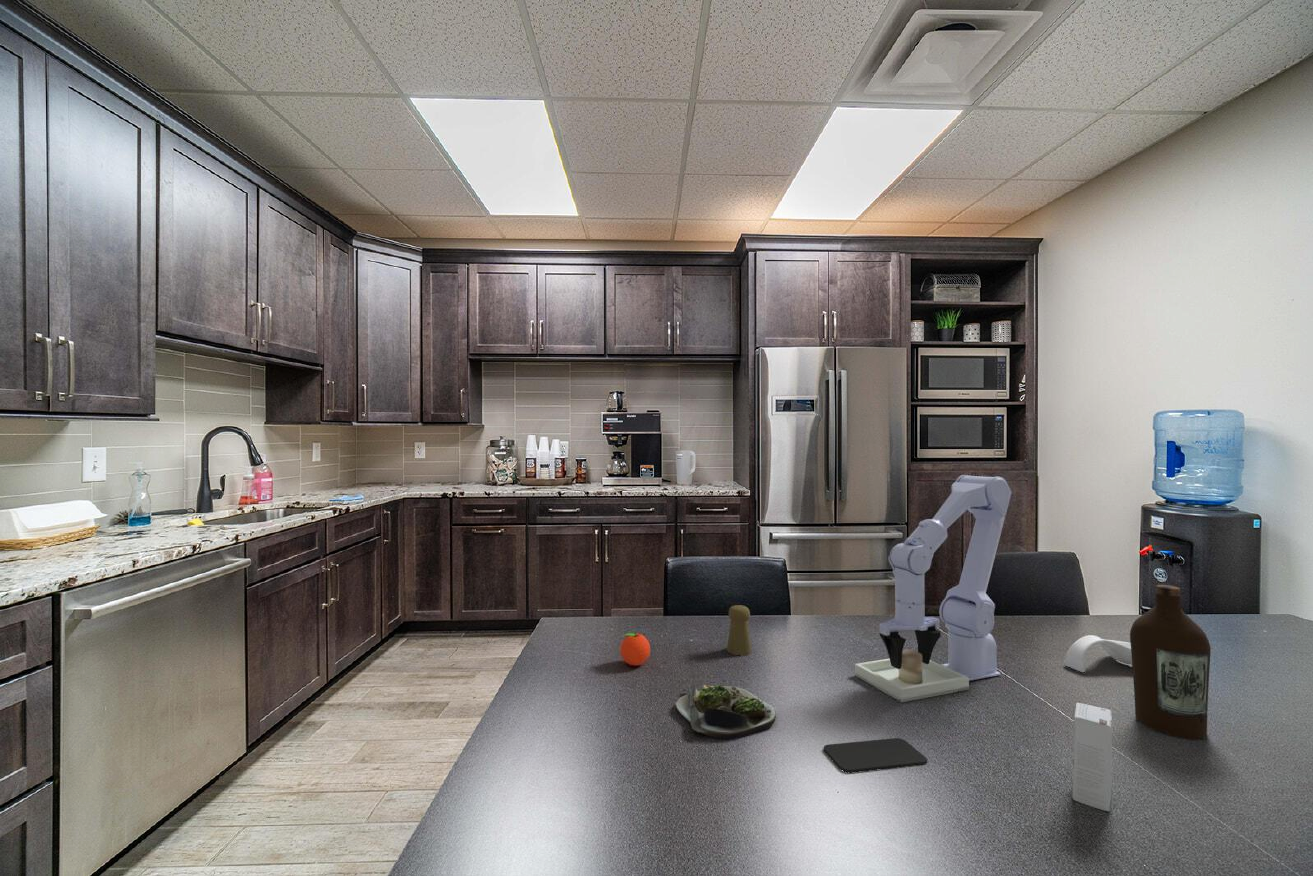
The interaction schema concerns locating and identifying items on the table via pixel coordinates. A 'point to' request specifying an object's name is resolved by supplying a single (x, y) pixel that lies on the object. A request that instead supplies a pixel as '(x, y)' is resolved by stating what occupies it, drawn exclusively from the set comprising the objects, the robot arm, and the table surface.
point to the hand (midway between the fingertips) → (910, 664)
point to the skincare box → (1092, 756)
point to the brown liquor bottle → (1170, 668)
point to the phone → (874, 755)
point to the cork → (739, 631)
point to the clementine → (635, 649)
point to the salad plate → (725, 711)
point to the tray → (933, 684)
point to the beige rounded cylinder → (911, 667)
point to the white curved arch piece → (1081, 646)
